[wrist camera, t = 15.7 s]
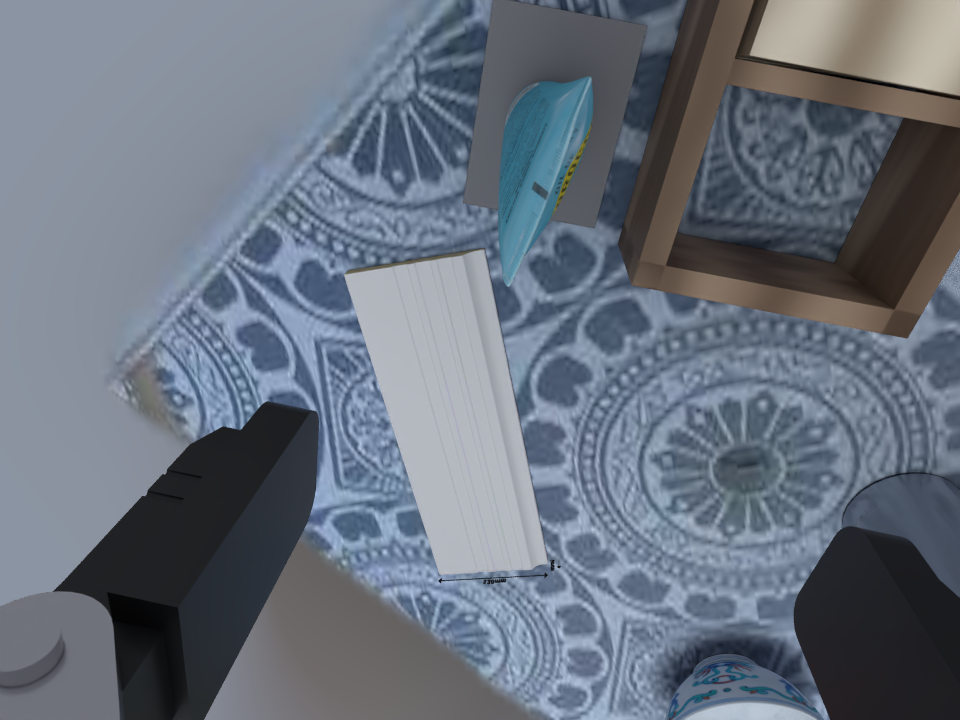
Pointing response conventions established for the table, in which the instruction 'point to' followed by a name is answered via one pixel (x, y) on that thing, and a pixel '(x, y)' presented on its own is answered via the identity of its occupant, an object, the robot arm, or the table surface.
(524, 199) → the tube
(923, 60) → the offcut top
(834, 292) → the open wooden box
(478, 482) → the baseboard molding
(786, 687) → the chinaware
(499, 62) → the mat
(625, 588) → the table surface
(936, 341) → the table surface
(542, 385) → the table surface
